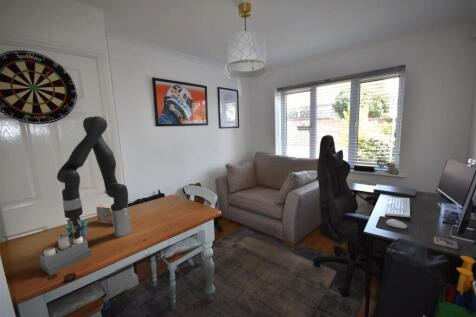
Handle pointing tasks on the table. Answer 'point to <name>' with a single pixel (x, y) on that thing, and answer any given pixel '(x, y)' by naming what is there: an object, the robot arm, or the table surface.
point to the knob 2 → (77, 240)
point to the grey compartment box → (64, 257)
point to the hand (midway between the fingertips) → (77, 237)
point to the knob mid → (63, 243)
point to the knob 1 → (49, 252)
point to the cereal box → (104, 213)
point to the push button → (67, 235)
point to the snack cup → (82, 232)
